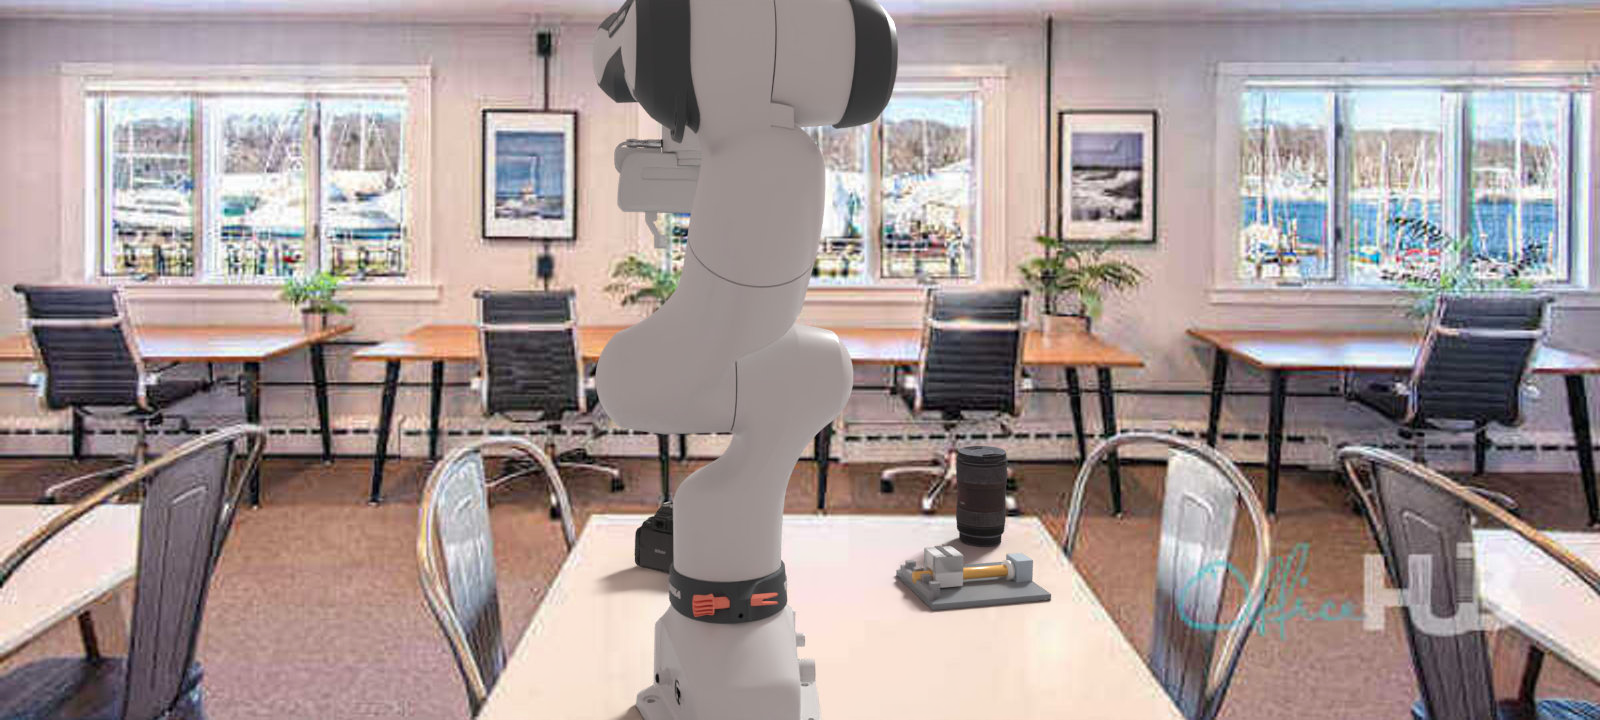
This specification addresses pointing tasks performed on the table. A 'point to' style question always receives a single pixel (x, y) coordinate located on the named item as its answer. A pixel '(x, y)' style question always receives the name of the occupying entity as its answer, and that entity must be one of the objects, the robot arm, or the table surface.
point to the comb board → (977, 584)
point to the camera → (656, 540)
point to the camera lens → (981, 494)
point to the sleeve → (944, 565)
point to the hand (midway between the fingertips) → (696, 249)
